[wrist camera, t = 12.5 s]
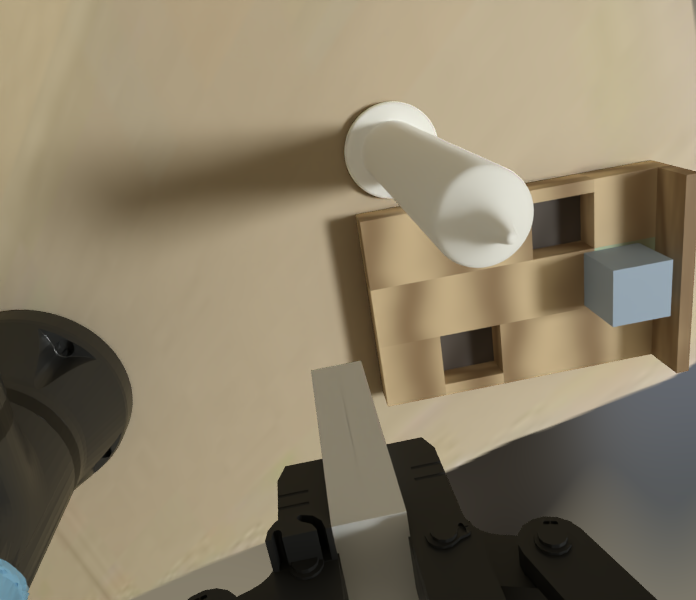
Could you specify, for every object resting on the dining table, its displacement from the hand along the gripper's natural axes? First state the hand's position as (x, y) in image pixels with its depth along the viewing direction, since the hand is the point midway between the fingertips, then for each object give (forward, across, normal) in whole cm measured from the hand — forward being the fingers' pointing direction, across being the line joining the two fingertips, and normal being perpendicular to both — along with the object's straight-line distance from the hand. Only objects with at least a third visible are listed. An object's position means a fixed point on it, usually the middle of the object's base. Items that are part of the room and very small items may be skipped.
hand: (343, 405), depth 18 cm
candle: (+31, +7, +2) cm, 32 cm away
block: (+28, +23, -10) cm, 38 cm away
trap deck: (+30, +16, -10) cm, 36 cm away
